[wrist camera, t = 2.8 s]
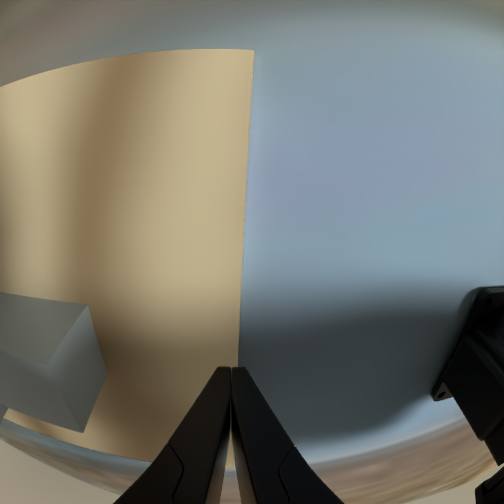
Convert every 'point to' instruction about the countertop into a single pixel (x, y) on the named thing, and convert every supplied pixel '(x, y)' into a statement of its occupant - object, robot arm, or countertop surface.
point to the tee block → (49, 360)
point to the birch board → (132, 225)
